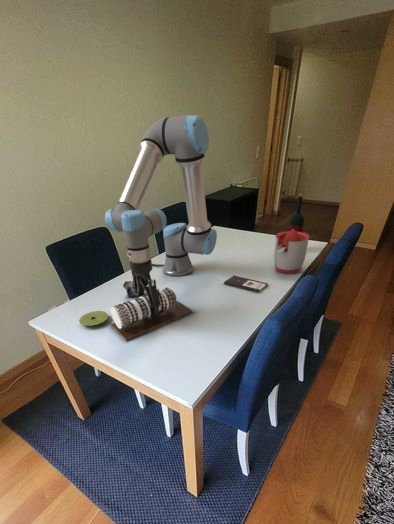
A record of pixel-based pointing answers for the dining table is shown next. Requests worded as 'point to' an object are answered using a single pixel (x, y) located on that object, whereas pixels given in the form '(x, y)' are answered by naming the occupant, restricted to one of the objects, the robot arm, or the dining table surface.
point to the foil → (131, 288)
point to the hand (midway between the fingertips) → (150, 315)
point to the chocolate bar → (245, 283)
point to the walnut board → (148, 324)
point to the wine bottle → (297, 217)
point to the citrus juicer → (290, 251)
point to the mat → (93, 318)
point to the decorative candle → (141, 308)
